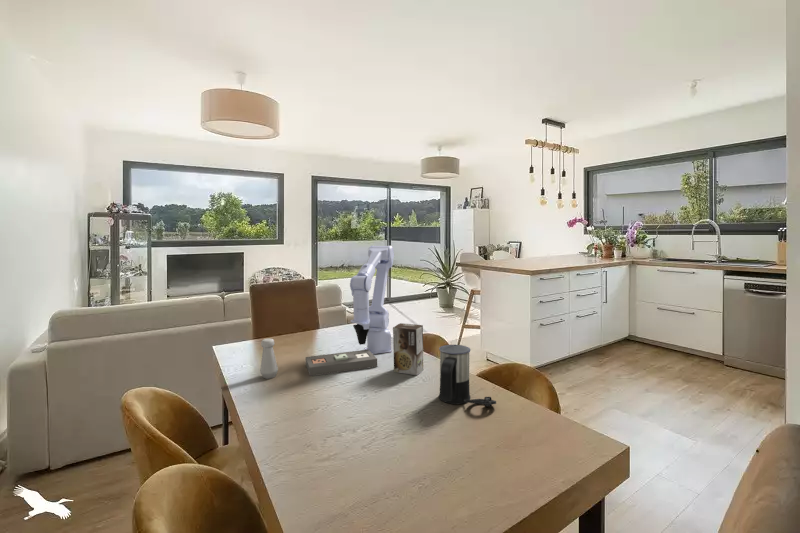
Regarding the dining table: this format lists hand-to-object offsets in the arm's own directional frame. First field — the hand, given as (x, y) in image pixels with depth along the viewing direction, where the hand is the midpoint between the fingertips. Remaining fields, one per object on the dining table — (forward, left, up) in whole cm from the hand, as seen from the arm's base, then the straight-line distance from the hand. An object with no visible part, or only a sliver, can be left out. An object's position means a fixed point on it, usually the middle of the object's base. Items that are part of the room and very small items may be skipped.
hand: (362, 343), depth 144 cm
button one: (0, 0, -7) cm, 7 cm away
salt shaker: (+33, +1, -8) cm, 34 cm away
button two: (+8, 0, -6) cm, 10 cm away
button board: (+8, 0, -7) cm, 11 cm away
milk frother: (-19, +43, -8) cm, 48 cm away
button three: (+16, 0, -7) cm, 17 cm away
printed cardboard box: (-13, +14, -8) cm, 21 cm away
